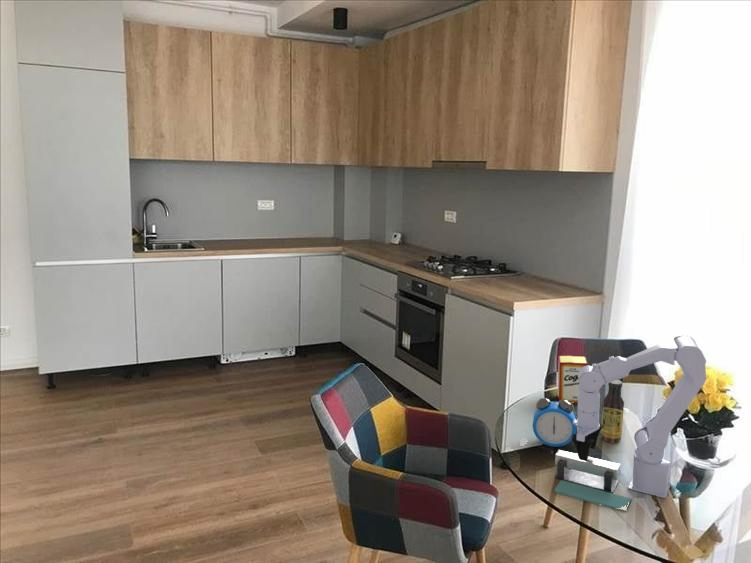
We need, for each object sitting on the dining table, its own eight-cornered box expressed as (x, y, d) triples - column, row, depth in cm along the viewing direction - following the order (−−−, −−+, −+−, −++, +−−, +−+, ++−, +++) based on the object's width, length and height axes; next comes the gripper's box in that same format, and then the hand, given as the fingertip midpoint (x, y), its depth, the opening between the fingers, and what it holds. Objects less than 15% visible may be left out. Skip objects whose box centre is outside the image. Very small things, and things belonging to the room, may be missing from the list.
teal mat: (631, 500, 167) (631, 498, 167) (626, 512, 163) (626, 509, 162) (561, 481, 178) (561, 479, 178) (554, 492, 173) (554, 490, 173)
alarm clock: (532, 445, 199) (532, 401, 195) (533, 436, 205) (533, 394, 201) (575, 449, 195) (576, 405, 191) (575, 440, 201) (576, 397, 197)
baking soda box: (584, 396, 233) (585, 355, 229) (586, 403, 226) (587, 362, 223) (557, 395, 235) (558, 355, 231) (558, 402, 228) (559, 361, 225)
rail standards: (618, 482, 176) (619, 465, 175) (612, 493, 171) (613, 476, 170) (562, 468, 185) (562, 452, 184) (555, 478, 180) (555, 461, 178)
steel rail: (619, 474, 174) (619, 464, 173) (616, 480, 171) (617, 469, 170) (558, 459, 183) (559, 449, 182) (555, 464, 180) (555, 454, 180)
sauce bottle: (599, 441, 199) (601, 383, 194) (602, 433, 204) (604, 376, 200) (621, 445, 196) (623, 386, 191) (623, 436, 201) (626, 379, 197)
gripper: (581, 396, 181) (580, 439, 184) (565, 416, 169) (564, 461, 172) (606, 401, 177) (604, 445, 180) (592, 421, 165) (590, 468, 168)
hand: (587, 453), depth 176 cm, fingers open, 7 cm apart
